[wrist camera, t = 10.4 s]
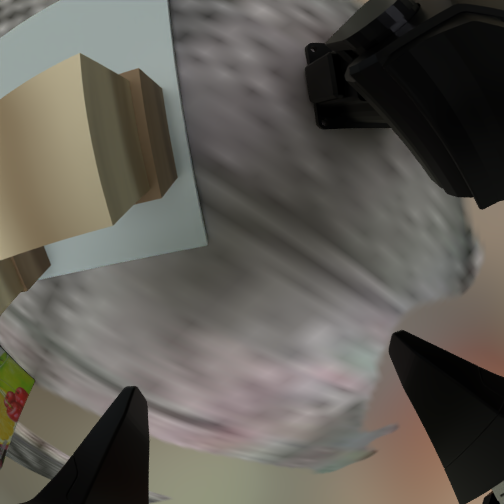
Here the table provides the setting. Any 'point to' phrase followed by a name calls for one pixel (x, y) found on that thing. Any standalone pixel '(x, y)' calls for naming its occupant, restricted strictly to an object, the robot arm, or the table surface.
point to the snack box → (11, 398)
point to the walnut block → (152, 133)
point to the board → (119, 61)
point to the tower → (21, 274)
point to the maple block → (67, 155)
